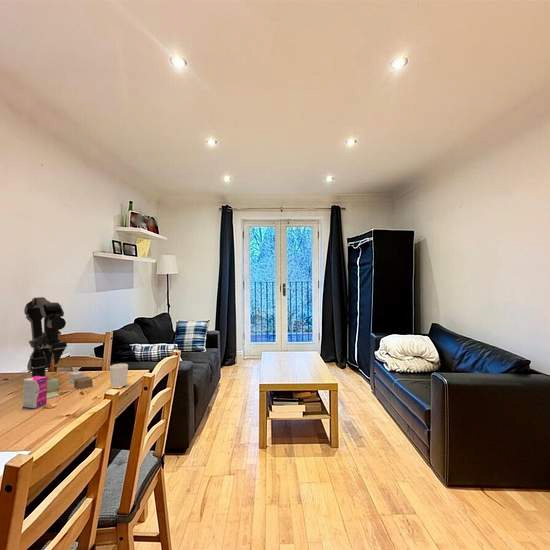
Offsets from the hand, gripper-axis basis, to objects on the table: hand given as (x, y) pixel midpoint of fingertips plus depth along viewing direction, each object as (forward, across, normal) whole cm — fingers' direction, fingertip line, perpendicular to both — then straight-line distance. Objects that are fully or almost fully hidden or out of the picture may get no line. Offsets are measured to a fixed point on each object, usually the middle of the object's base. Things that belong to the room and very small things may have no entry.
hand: (52, 363), depth 154 cm
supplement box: (+14, +16, -12) cm, 24 cm away
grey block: (+12, -5, +12) cm, 18 cm away
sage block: (+12, -1, 0) cm, 12 cm away
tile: (+13, +7, -4) cm, 16 cm away
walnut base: (+13, +6, +11) cm, 18 cm away
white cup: (+14, +20, +21) cm, 32 cm away
